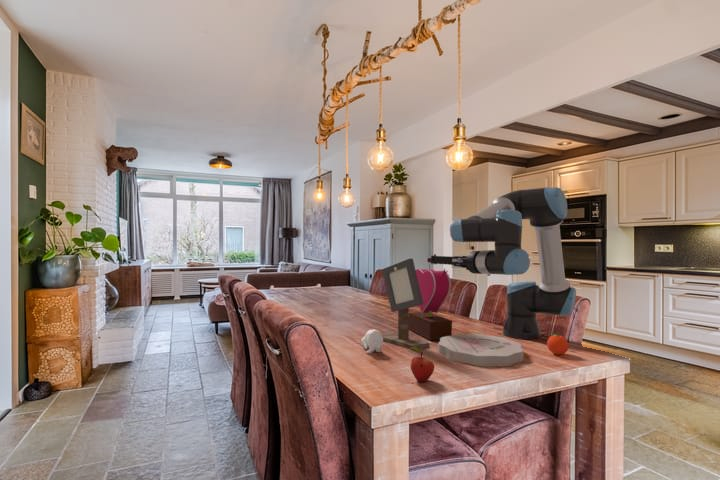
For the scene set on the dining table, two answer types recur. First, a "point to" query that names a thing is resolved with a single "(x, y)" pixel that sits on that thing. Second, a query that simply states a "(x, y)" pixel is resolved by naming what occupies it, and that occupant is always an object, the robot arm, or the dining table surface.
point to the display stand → (404, 333)
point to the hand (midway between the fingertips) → (438, 262)
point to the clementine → (557, 344)
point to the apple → (421, 367)
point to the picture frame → (402, 285)
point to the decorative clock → (431, 305)
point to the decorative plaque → (480, 349)
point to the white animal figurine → (372, 341)
